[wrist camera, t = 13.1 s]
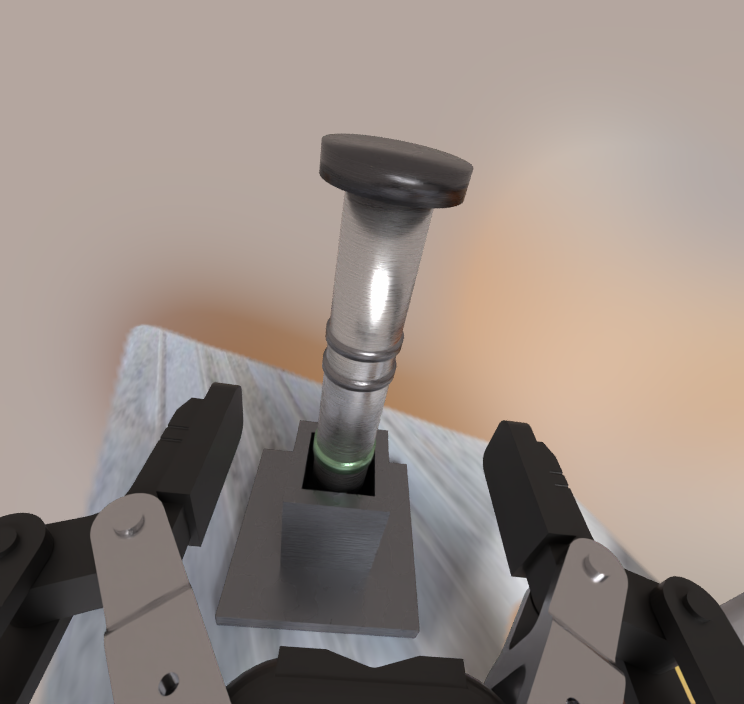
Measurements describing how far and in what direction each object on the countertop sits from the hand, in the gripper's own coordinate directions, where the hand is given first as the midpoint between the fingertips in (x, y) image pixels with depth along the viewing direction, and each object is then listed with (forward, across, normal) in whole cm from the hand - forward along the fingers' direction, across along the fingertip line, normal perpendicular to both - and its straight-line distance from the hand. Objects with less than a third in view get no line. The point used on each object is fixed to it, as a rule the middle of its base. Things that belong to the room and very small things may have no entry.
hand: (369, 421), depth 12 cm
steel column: (+9, 0, +15) cm, 17 cm away
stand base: (+9, 0, +24) cm, 25 cm away
